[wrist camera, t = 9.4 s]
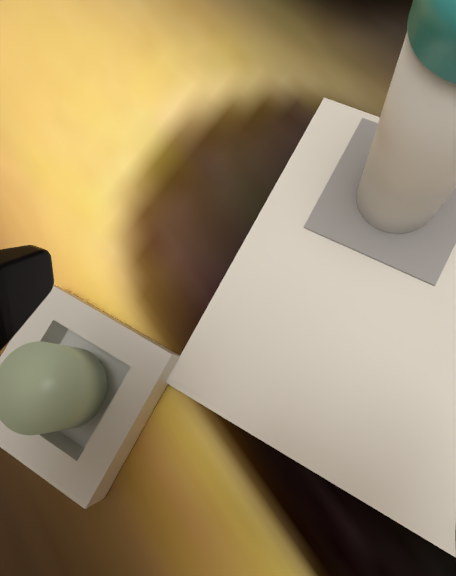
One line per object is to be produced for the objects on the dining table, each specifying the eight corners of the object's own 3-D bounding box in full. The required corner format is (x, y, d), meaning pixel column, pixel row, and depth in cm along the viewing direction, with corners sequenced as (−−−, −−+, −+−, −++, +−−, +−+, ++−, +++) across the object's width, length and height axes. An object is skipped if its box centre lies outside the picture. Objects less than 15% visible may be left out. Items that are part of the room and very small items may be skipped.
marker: (399, 252, 21) (561, 39, 8) (337, 198, 22) (395, -59, 9) (458, 195, 21) (703, -95, 8) (393, 145, 22) (524, -174, 10)
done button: (79, 444, 20) (43, 453, 17) (18, 402, 21) (-24, 405, 18) (121, 371, 21) (93, 368, 18) (60, 334, 22) (25, 325, 19)
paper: (476, 567, 18) (484, 576, 17) (168, 382, 22) (163, 382, 21) (626, 214, 20) (639, 207, 19) (323, 104, 24) (324, 95, 23)
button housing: (104, 498, 21) (85, 509, 19) (-11, 416, 23) (-38, 418, 21) (182, 357, 22) (171, 354, 20) (66, 290, 24) (46, 281, 22)
